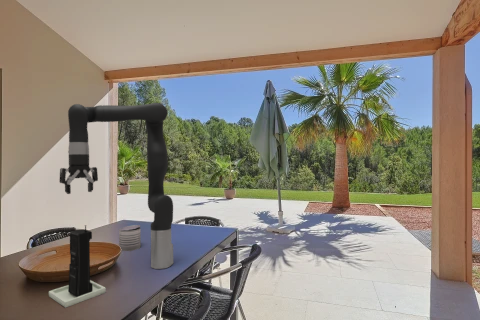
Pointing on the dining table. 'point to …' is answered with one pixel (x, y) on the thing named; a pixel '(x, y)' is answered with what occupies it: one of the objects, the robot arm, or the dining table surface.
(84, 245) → the portable radio
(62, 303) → the sage tray
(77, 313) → the dining table surface
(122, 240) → the can
